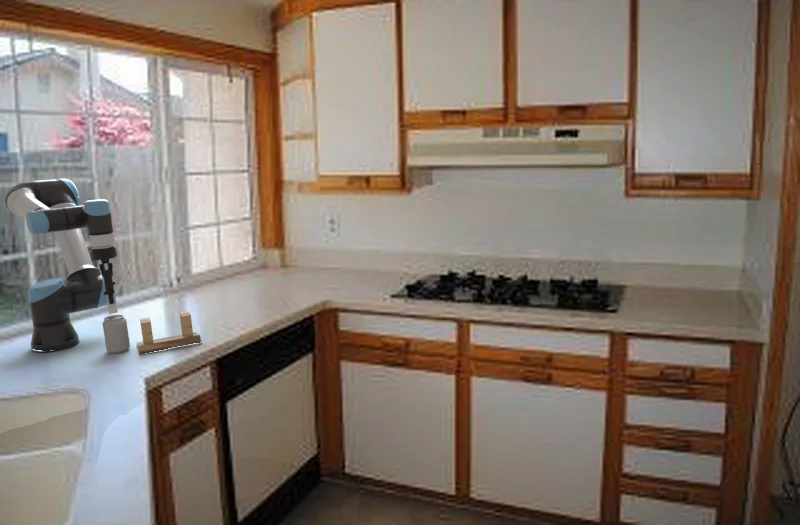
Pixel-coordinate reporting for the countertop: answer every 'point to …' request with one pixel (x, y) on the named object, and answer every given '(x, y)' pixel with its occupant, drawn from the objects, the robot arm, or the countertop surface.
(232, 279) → the countertop surface
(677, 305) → the countertop surface
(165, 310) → the countertop surface
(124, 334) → the can
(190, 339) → the wooden u-shaped stand
